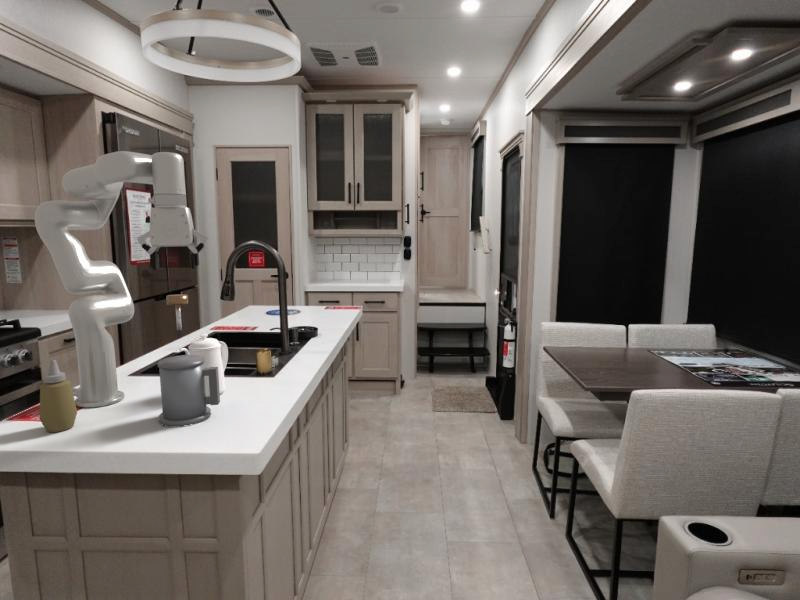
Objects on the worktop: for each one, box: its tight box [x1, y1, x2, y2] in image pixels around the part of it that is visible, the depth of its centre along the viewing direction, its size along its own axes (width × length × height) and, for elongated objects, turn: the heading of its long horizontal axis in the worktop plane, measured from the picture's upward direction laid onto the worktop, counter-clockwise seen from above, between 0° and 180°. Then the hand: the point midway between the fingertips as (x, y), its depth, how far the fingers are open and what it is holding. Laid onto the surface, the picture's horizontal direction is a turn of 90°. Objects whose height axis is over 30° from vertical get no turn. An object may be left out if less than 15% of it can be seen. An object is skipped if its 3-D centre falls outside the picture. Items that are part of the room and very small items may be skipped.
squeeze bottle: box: [39, 359, 78, 433], centre depth 128 cm, size 8×8×18 cm
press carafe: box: [157, 354, 221, 427], centre depth 135 cm, size 16×13×16 cm
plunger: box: [165, 293, 189, 331], centre depth 132 cm, size 5×5×9 cm
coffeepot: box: [176, 333, 229, 396], centre depth 154 cm, size 11×25×19 cm, turn 168°
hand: (175, 269), depth 131 cm, fingers open, 9 cm apart
